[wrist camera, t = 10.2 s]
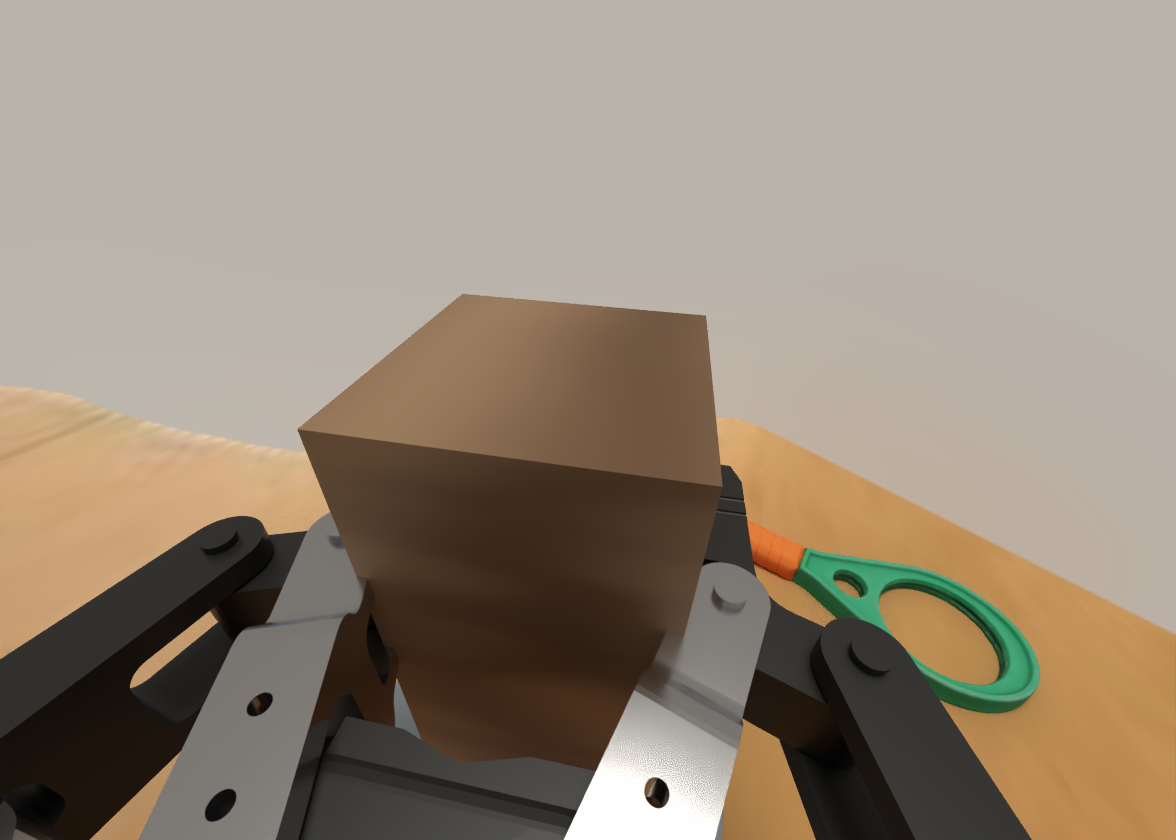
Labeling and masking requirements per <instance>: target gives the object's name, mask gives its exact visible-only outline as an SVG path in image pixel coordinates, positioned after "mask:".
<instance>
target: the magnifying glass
mask: <svg viewBox="0 0 1176 840" xmlns="http://www.w3.org/2000/svg"><path fill="white" fill-rule="evenodd" d="M747 522H748V529H749V536H750V542H751V549H752V556H753V562H755V563H757V564H759V565H761V566H762V567H765V568H767V569H768V570H770V571H772V572H774V573H776V574H778V575H780V576H782V577H784V578H786V579H788V580H791V581H793V582H795V583H797V584H798V585H800V586H801V587H803V588H804V589H806V590H807V591H808V592H809V593H810V594H811V595H812V596H814V597H815V598H816V599H817V600H818V601H819V602H820V603H821V604H822V605H823V606H824V607H825V608H827V609H828V610H829V611H830V612H831V613H832V614H833V615H834V616H835V617H836V618H837V619H838V618H856V619H861V620H864V621H867V622H869V623H872V624H874V625H876V626H878V627H879V628H881V629H883V630H884V631H886V632H887V633H889V634H890V635H891V636H892V634H891V633H890V631H889V630H888V628H887V627H886V625H885V623H884V621H883V618H882V616H881V614H880V610H879V597H880V595H881V594H882V593H884V592H885V591H888V590H891V589H896V588H907V589H914V590H918V591H922V592H925V593H928V594H931V595H933V596H936V597H938V598H940V599H942V600H944V601H946V602H947V603H949V604H951V605H952V606H954V607H955V608H957V609H958V610H960V611H961V612H962V613H964V614H965V615H966V616H967V617H968V618H970V619H971V620H972V621H973V622H974V623H975V624H976V625H977V626H978V627H979V628H980V629H981V630H982V632H983V633H984V634H985V635H986V637H987V638H988V639H989V641H990V642H991V644H992V646H993V648H994V650H995V652H996V654H997V656H998V660H999V666H1000V670H999V676H998V679H997V681H996V682H994V683H991V684H988V685H972V684H967V683H962V682H959V681H956V680H953V679H950V678H948V677H945V676H943V675H941V674H939V673H937V672H935V671H933V670H932V669H930V668H928V667H926V666H925V665H923V664H922V663H921V662H919V661H918V660H917V659H916V658H914V657H913V656H912V655H911V654H910V653H909V652H908V653H909V655H910V656H911V658H912V659H913V661H914V662H915V664H916V665H917V667H918V668H919V670H920V671H921V673H922V674H923V676H924V677H925V679H926V680H927V682H928V683H929V685H930V687H931V688H932V690H933V691H934V693H935V694H936V696H937V697H938V699H940V700H942V701H944V702H947V703H949V704H952V705H955V706H958V707H961V708H964V709H968V710H972V711H977V712H984V713H1001V712H1007V711H1011V710H1014V709H1016V708H1018V707H1019V706H1021V705H1022V704H1023V703H1024V702H1025V701H1026V700H1027V699H1028V698H1029V697H1030V696H1031V695H1032V694H1033V693H1034V692H1035V690H1036V689H1037V687H1038V684H1039V680H1040V670H1039V665H1038V661H1037V658H1036V656H1035V654H1034V651H1033V649H1032V648H1031V646H1030V644H1029V643H1028V641H1027V640H1026V638H1025V637H1024V636H1023V634H1022V633H1021V632H1020V631H1019V629H1018V628H1017V627H1016V626H1015V625H1014V624H1013V623H1012V622H1011V621H1010V620H1009V619H1008V618H1007V617H1006V616H1005V615H1004V614H1003V613H1001V612H1000V611H999V610H998V609H997V608H995V607H994V606H993V605H992V604H990V603H989V602H988V601H986V600H985V599H984V598H982V597H981V596H979V595H977V594H976V593H975V592H973V591H971V590H970V589H968V588H966V587H964V586H963V585H961V584H959V583H957V582H955V581H953V580H951V579H949V578H947V577H945V576H942V575H940V574H938V573H935V572H932V571H929V570H926V569H923V568H919V567H915V566H909V565H903V564H896V563H890V562H883V561H877V560H871V559H863V558H857V557H850V556H845V555H837V554H830V553H824V552H819V551H816V550H813V549H810V548H806V549H805V548H804V547H802V546H800V545H798V544H796V543H793V542H791V541H789V540H787V539H785V538H783V537H781V536H779V535H777V534H774V533H772V532H771V531H768V530H766V529H764V528H762V527H760V526H758V525H756V524H754V523H752V522H750V521H748V520H747ZM834 580H843V581H846V582H848V583H849V584H851V585H853V586H854V587H855V588H856V589H857V590H858V592H859V593H860V596H861V597H860V598H858V597H852V596H849V595H847V594H845V593H844V592H842V591H841V590H840V589H839V588H838V587H837V586H836V584H835V583H834Z"/></svg>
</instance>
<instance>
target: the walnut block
mask: <svg viewBox="0 0 1176 840" xmlns="http://www.w3.org/2000/svg"><path fill="white" fill-rule="evenodd" d="M298 432H299V434H300V437H301V439H302V442H303V444H304V447H305V449H306V452H307V454H308V457H309V459H310V462H311V464H312V467H313V469H314V472H315V474H316V477H317V479H318V482H319V484H320V487H321V489H322V492H323V494H324V497H325V499H326V502H327V504H328V507H329V509H330V512H331V514H332V517H333V519H334V522H335V524H336V527H337V529H338V532H339V534H340V537H341V539H342V542H343V544H344V547H345V549H346V552H347V554H348V557H349V559H350V562H351V564H352V567H353V569H354V572H355V574H356V576H360V577H366V578H368V580H369V583H370V585H371V588H372V591H373V593H374V600H373V604H372V608H371V614H372V617H373V619H374V622H375V624H376V627H377V629H378V632H379V634H380V637H381V639H382V642H383V644H384V646H388V647H393V648H394V649H395V651H396V654H397V657H398V659H399V666H398V672H397V679H398V682H399V684H400V687H401V690H402V692H403V695H404V697H405V700H406V702H407V705H408V707H409V710H410V712H411V715H412V717H413V720H414V722H415V725H416V727H417V730H418V732H419V735H420V737H421V740H422V741H424V742H426V743H427V744H429V745H430V746H432V747H434V748H435V749H437V750H438V751H440V752H442V753H443V754H445V755H446V756H448V757H450V758H451V759H453V760H455V761H457V762H461V763H468V762H479V761H491V760H502V759H513V758H524V757H533V758H538V759H542V760H547V761H552V762H556V763H561V764H565V765H570V766H574V767H579V768H583V769H588V770H592V771H595V773H596V771H597V768H598V766H599V764H600V762H601V760H602V758H603V756H604V753H605V751H606V749H607V747H608V745H609V743H610V741H611V738H612V736H613V734H614V732H615V730H616V728H617V726H618V723H619V721H620V719H621V717H622V715H623V713H624V711H625V709H626V706H627V704H628V702H629V700H630V698H631V696H632V694H633V691H634V689H635V687H636V685H637V683H638V681H639V679H640V677H641V676H642V674H643V672H644V671H645V670H646V669H649V668H650V666H651V665H652V663H653V661H654V658H655V656H656V654H657V652H658V650H659V648H660V645H661V643H662V641H663V639H664V637H665V634H666V632H667V631H669V632H675V633H680V634H685V631H686V627H687V624H688V620H689V616H690V612H691V608H692V604H693V600H694V596H695V592H696V588H697V585H698V581H699V577H700V573H701V569H702V565H703V561H704V557H705V553H706V549H707V546H708V542H709V538H710V534H711V530H712V526H713V522H714V518H715V514H716V510H717V507H718V503H719V499H720V495H721V491H722V487H723V486H722V476H721V466H720V455H719V445H718V435H717V425H716V415H715V404H714V395H713V385H712V374H711V363H710V353H709V343H708V333H707V322H706V316H703V315H692V314H691V315H690V314H680V313H669V312H658V311H647V310H635V309H625V308H613V307H602V306H590V305H579V304H568V303H557V302H546V301H535V300H524V299H513V298H501V297H490V296H479V295H468V294H462V295H461V296H460V297H458V298H457V299H456V300H455V301H454V302H452V303H451V304H450V305H448V307H446V308H445V309H444V310H442V311H441V312H440V313H439V314H438V315H437V316H435V317H434V318H433V319H431V320H430V321H429V322H428V323H426V324H425V325H424V326H423V327H422V328H420V329H419V330H418V331H417V332H415V333H414V334H413V335H412V336H411V337H409V338H408V339H407V340H406V341H405V342H403V343H402V344H401V345H400V346H398V347H397V348H396V349H395V350H393V351H392V352H391V353H390V354H389V355H387V356H386V357H385V358H384V359H382V360H381V361H380V362H379V363H378V364H377V365H375V366H374V367H373V368H371V369H370V370H369V371H368V372H367V373H365V374H364V375H363V376H362V377H360V378H359V379H358V380H357V381H356V382H355V383H353V384H352V385H351V386H349V387H348V388H347V389H346V390H345V391H344V392H342V393H341V394H340V395H338V396H337V397H336V398H335V399H334V400H332V401H331V402H330V403H329V404H328V405H326V406H325V407H324V408H323V409H322V410H320V411H319V412H318V413H316V414H315V415H314V416H313V417H312V418H310V419H309V420H308V421H307V422H306V423H304V424H303V425H302V426H301V427H299V428H298Z"/></svg>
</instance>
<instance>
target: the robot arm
mask: <svg viewBox="0 0 1176 840" xmlns="http://www.w3.org/2000/svg"><path fill="white" fill-rule="evenodd" d="M720 466H721V476H722V486H723V487H722V491H721V495H720V499H719V503H718V507H717V510H716V514H715V518H714V522H713V526H712V530H711V534H710V538H709V542H708V546H707V549H706V553H705V557H704V561H703V565H702V569H701V573H700V577H699V581H698V585H697V588H696V592H695V596H694V600H693V604H692V608H691V612H690V616H689V620H688V624H687V627H686V631H685V634H680V633H675V632H669V631H667V632H666V634H665V637H664V639H663V641H662V643H661V645H660V648H659V650H658V652H657V654H656V656H655V658H654V661H653V663H652V665H651V666H650V668H649V669H646V670H645V671H644V672H643V674H642V676H641V677H640V679H639V681H638V683H637V685H636V687H635V689H634V691H633V694H632V696H631V698H630V700H629V702H628V704H627V706H626V709H625V711H624V713H623V715H622V717H621V719H620V721H619V723H618V726H617V728H616V730H615V732H614V734H613V736H612V738H611V741H610V743H609V745H608V747H607V749H606V751H605V753H604V756H603V758H602V760H601V762H600V764H599V766H598V768H597V771H596V773H595V771H592V770H588V769H583V768H579V767H574V766H570V765H565V764H561V763H556V762H552V761H547V760H542V759H538V758H533V757H524V758H513V759H502V760H491V761H479V762H468V763H461V762H457V761H455V760H453V759H451V758H450V757H448V756H446V755H445V754H443V753H442V752H440V751H438V750H437V749H435V748H434V747H432V746H430V745H429V744H427V743H426V742H424V741H422V740H421V739H419V738H418V737H416V736H414V735H413V734H411V733H410V732H408V731H406V730H405V729H402V728H397V727H395V711H394V690H395V684H396V678H397V672H398V666H399V659H398V657H397V654H396V651H395V649H394V648H393V647H388V646H384V644H383V642H382V639H381V637H380V634H379V632H378V629H377V627H376V624H375V622H374V619H373V617H372V614H371V608H372V604H373V600H374V593H373V591H372V588H371V585H370V583H369V580H368V578H366V577H360V576H356V574H355V572H354V569H353V567H352V564H351V562H350V559H349V557H348V554H347V552H346V549H345V547H344V544H343V542H342V539H341V537H340V534H339V532H338V529H337V527H336V524H335V522H334V519H333V517H332V514H331V512H330V513H328V514H326V515H325V516H323V517H321V518H320V519H319V520H317V521H316V522H315V523H314V524H313V525H312V526H311V527H310V529H309V530H308V531H303V532H294V533H284V534H275V535H268V534H267V532H266V530H265V528H264V526H263V524H262V523H261V522H260V521H259V520H258V519H256V518H253V517H248V516H237V517H230V518H226V519H223V520H219V521H217V522H214V523H212V524H210V525H207V526H205V527H204V528H202V529H200V530H199V531H197V532H195V533H194V534H192V535H191V536H189V537H188V538H186V539H185V540H183V541H182V542H180V543H178V544H177V545H175V546H174V547H172V548H171V549H169V550H168V551H166V552H165V553H163V554H162V555H160V556H158V557H157V558H155V559H154V560H152V561H151V562H149V563H148V564H146V565H145V566H143V567H142V568H140V569H138V570H137V571H135V572H134V573H132V574H131V575H129V576H128V577H126V578H125V579H123V580H122V581H120V582H118V583H117V584H115V585H114V586H112V587H111V588H109V589H108V590H106V591H105V592H103V593H102V594H100V595H98V596H97V597H95V598H94V599H92V600H91V601H89V602H88V603H86V604H85V605H83V606H82V607H80V608H78V609H77V610H75V611H74V612H72V613H71V614H69V615H68V616H66V617H65V618H63V619H62V620H60V621H58V622H57V623H55V624H54V625H52V626H51V627H49V628H48V629H46V630H45V631H43V632H42V633H40V634H38V635H37V636H35V637H34V638H32V639H31V640H29V641H28V642H26V643H25V644H23V645H22V646H20V647H18V648H17V649H15V650H14V651H12V652H11V653H9V654H8V655H6V656H5V657H3V658H2V659H0V840H90V839H91V838H92V837H93V836H94V835H95V834H96V833H97V832H98V831H99V830H100V829H101V828H102V827H103V826H104V825H105V824H106V823H107V822H108V821H109V820H110V819H111V818H112V817H113V816H114V815H115V814H116V813H117V812H118V811H120V810H121V809H122V808H123V807H124V806H125V805H126V804H127V803H128V802H129V801H130V800H131V799H132V798H133V797H134V796H135V795H136V794H137V793H138V792H139V791H140V790H141V789H142V788H143V787H144V786H145V785H146V784H147V783H148V782H149V781H150V780H151V779H152V778H154V777H155V776H156V775H157V774H158V773H159V772H160V771H161V770H162V769H163V768H164V767H165V766H166V765H167V764H168V763H169V762H170V761H171V760H172V759H173V758H174V757H175V756H176V755H177V754H178V753H179V752H180V751H181V753H180V755H179V757H178V759H177V761H176V763H175V765H174V767H173V769H172V771H171V773H170V775H169V777H168V779H167V782H166V784H165V786H164V788H163V790H162V792H161V794H160V796H159V798H158V800H157V802H156V804H155V806H154V808H153V811H152V813H151V815H150V817H149V819H148V821H147V823H146V825H145V827H144V829H143V831H142V833H141V835H140V837H139V840H715V836H716V832H717V828H718V825H719V821H720V817H721V813H722V809H723V805H724V801H725V798H726V794H727V790H728V786H729V782H730V778H731V774H732V771H733V767H734V763H735V759H736V755H737V751H738V747H739V743H740V739H741V734H742V729H743V722H742V718H743V719H745V720H746V721H748V722H750V723H752V724H753V725H755V726H757V727H759V728H761V729H762V730H764V731H766V732H768V733H769V734H771V735H773V736H775V737H777V738H778V739H779V740H780V743H781V746H782V748H783V751H784V754H785V756H786V759H787V762H788V765H789V767H790V770H791V773H792V776H793V778H794V781H795V784H796V786H797V789H798V792H799V795H800V797H801V800H802V803H803V806H804V808H805V811H806V814H807V816H808V819H809V822H810V825H811V827H812V830H813V833H814V836H815V838H816V840H1032V839H1031V838H1030V836H1029V835H1028V833H1027V832H1026V830H1025V829H1024V827H1023V826H1022V824H1021V823H1020V821H1019V820H1018V818H1017V817H1016V815H1015V814H1014V812H1013V811H1012V809H1011V808H1010V806H1009V805H1008V803H1007V802H1006V800H1005V798H1004V797H1003V795H1002V794H1001V792H1000V791H999V789H998V788H997V786H996V785H995V783H994V782H993V780H992V779H991V777H990V776H989V774H988V773H987V771H986V770H985V768H984V767H983V765H982V764H981V762H980V761H979V759H978V758H977V756H976V755H975V753H974V752H973V750H972V749H971V747H970V746H969V744H968V742H967V741H966V739H965V738H964V736H963V735H962V733H961V732H960V730H959V729H958V727H957V726H956V724H955V723H954V721H953V720H952V718H951V717H950V715H949V714H948V712H947V711H946V709H945V708H944V706H943V705H942V703H941V702H940V700H939V699H938V697H937V696H936V694H935V693H934V691H933V690H932V688H931V687H930V685H929V683H928V682H927V680H926V679H925V677H924V676H923V674H922V673H921V671H920V670H919V668H918V667H917V665H916V664H915V662H914V661H913V659H912V658H911V656H910V655H909V653H908V652H907V651H906V649H905V648H904V647H903V646H902V645H901V644H900V643H899V642H898V641H897V640H896V639H895V638H894V637H893V636H891V635H890V634H889V633H887V632H886V631H884V630H883V629H881V628H879V627H878V626H876V625H874V624H872V623H869V622H867V621H864V620H861V619H856V618H838V619H835V620H833V621H831V622H830V623H828V624H827V625H826V626H825V627H823V626H821V625H819V624H816V623H814V622H812V621H810V620H807V619H805V618H803V617H801V616H799V615H796V614H794V613H792V612H790V611H788V610H786V609H785V608H783V607H782V606H780V605H779V604H778V603H776V602H775V601H774V600H773V599H772V598H771V597H770V596H769V595H768V593H767V591H766V589H765V587H764V586H763V585H762V583H761V582H760V581H759V580H758V579H757V577H756V573H755V569H754V562H753V556H752V549H751V542H750V536H749V529H748V522H747V517H746V509H745V502H744V496H743V489H742V482H741V481H740V479H739V478H738V476H737V475H736V474H735V472H734V471H733V469H732V468H731V467H730V466H726V465H720ZM209 611H210V612H211V613H212V614H213V616H214V617H215V619H216V620H217V621H218V623H216V624H215V625H214V626H213V627H212V628H210V629H209V630H208V631H207V632H205V633H204V634H203V635H202V636H201V637H199V638H198V639H197V640H196V641H194V642H193V643H192V644H191V645H190V646H188V647H187V648H186V649H185V650H183V651H182V652H181V653H180V654H179V655H177V656H176V657H175V658H174V659H173V660H171V661H170V662H169V663H168V664H166V665H165V666H164V667H163V668H162V669H160V670H159V671H158V672H157V673H155V674H154V675H153V676H152V677H151V678H149V679H148V680H147V681H145V682H144V683H142V684H140V685H138V686H136V687H133V688H130V683H131V679H132V677H133V675H134V674H135V672H136V671H137V670H138V668H139V667H140V666H141V665H142V664H143V663H144V662H145V661H147V660H148V659H149V658H150V657H152V656H153V655H154V654H155V653H157V652H158V651H159V650H161V649H162V648H163V647H164V646H166V645H167V644H168V643H169V642H171V641H172V640H173V639H174V638H176V637H177V636H178V635H180V634H181V633H182V632H183V631H185V630H186V629H187V628H188V627H190V626H191V625H192V624H193V623H195V622H196V621H197V620H198V619H200V618H201V617H202V616H204V615H205V614H206V613H207V612H209Z"/></svg>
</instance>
